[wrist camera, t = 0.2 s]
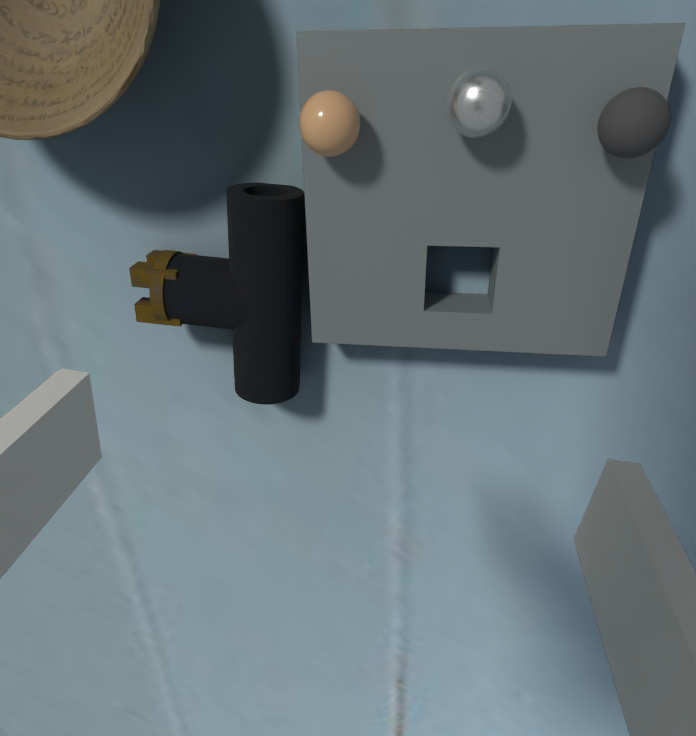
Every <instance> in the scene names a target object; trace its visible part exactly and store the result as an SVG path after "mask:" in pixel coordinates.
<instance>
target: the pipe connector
mask: <svg viewBox="0 0 696 736" xmlns="http://www.w3.org/2000/svg"><path fill="white" fill-rule="evenodd" d="M226 193H227V216H228V239H229V259H227V258H218V257H208V256H198V255H196V254H188V253H182V252H180V251H170V250H165V251H158V250H154V251H152V252H151V253H149V254H148V255H147V256H146V257H147V262H137V263H136V264H134V265H133V266H131V267H130V276H131V283H132V286H133V287H142V288H150V298H146V297H142V298H141V299H140V300H139V301H138V302H137V303H135V304H134V305H135V312H136V320H137V322H145V323H154V324H163V325H172V326H181V325H182V324H190V325H199V326H208V327H218V328H227V329H232V331H233V354H234V377H235V391H236V393H237V394H238V396H239V397H241V398H242V399H244V400H246V401H249V402H252V403H256V404H276V403H281V402H285V401H287V400H289V399H291V398H293V397H294V396H295V395H296V394H297V393H298V391H299V382H300V339H301V297H302V254H303V212H304V192H303V191H302V190H301V189H299V188H297V187H293V186H288V185H277V184H267V183H243V184H237V185H233V186H230V187H228V188H227V189H226Z"/></svg>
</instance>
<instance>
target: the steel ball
mask: <svg viewBox="0 0 696 736" xmlns="http://www.w3.org/2000/svg"><path fill="white" fill-rule="evenodd" d="M511 102H512V96H511V90H510V87H509V84H508V82H507V81H506V79H505V78H504V77H503V76H502V75H501V74H500V73H499V72H498V71H496V70H494V69H491V68H488V67H476V68H472V69H469V70H467V71H465V72H464V73H462V74H461V75H460V76H459V77H458V78H457V79H456V80H455V81H454V82H453V84H452V85H451V87H450V89H449V91H448V94H447V98H446V114H447V117H448V120H449V122H450V124H451V125H452V127H453V128H454V129H455V130H456V131H457V132H459V133H460V134H462V135H464V136H466V137H470V138H481V137H485V136H488V135H490V134H492V133H493V132H495V131H496V130H497V129H499V128H500V127H501V126H502V124H503V123H504V122H505V120H506V118H507V117H508V114H509V112H510V108H511Z"/></svg>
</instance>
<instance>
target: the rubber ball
mask: <svg viewBox="0 0 696 736" xmlns="http://www.w3.org/2000/svg"><path fill="white" fill-rule="evenodd" d="M670 119H671V113H670V107H669V105H668V102H667V101H666V99H665V98H664V97H663V96H662V95H661V94H660V93H659V92H657V91H656V90H653V89H651V88H646V87H635V88H630V89H627V90H625V91H623V92H621V93H619V94H617V95H616V96H615V97H613V98H612V99H611V100H610V101H609V102H608V103H607V104H606V106H605V107H604V109H603V110H602V112H601V114H600V117H599V120H598V126H597V132H598V138H599V141H600V143H601V145H602V146H603V148H604V149H605V150H606V151H607V152H609V153H610V154H612V155H613V156H616V157H620V158H635V157H639V156H642V155H644V154H646V153H648V152H650V151H651V150H653V149H654V148H655V147H656V146H657V145H658V144H659V143H660V142H661V141H662V140H663V138H664V137H665V135H666V133H667V131H668V129H669V125H670Z"/></svg>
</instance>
